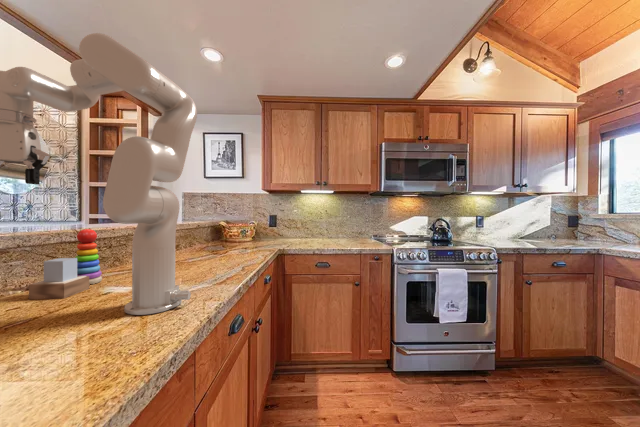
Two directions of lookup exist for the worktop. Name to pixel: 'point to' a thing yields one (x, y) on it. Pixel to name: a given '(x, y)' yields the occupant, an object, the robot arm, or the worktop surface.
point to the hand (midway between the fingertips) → (12, 183)
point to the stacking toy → (88, 256)
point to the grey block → (60, 269)
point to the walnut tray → (58, 288)
